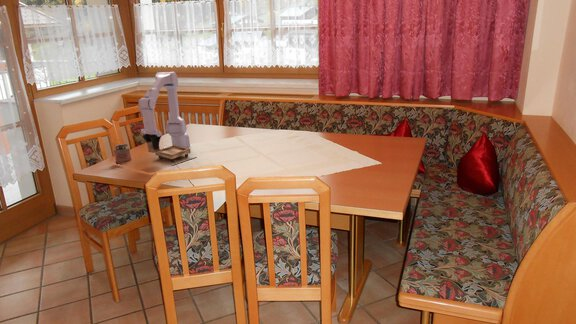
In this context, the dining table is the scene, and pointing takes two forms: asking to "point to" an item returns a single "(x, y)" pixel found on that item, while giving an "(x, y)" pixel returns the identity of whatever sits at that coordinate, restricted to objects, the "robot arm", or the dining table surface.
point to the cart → (173, 152)
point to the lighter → (122, 153)
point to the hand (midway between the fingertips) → (153, 148)
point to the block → (151, 147)
